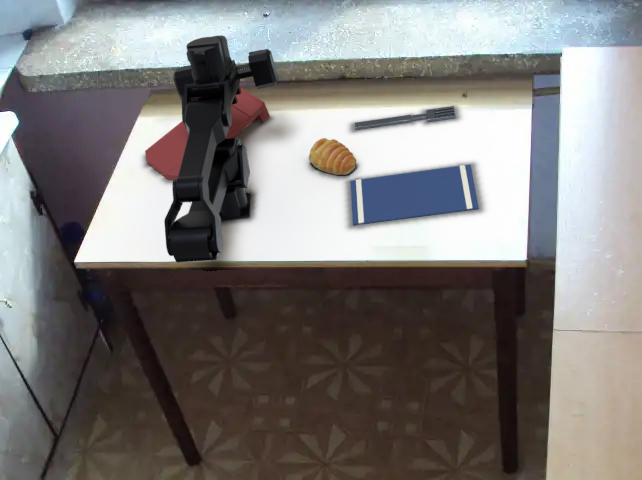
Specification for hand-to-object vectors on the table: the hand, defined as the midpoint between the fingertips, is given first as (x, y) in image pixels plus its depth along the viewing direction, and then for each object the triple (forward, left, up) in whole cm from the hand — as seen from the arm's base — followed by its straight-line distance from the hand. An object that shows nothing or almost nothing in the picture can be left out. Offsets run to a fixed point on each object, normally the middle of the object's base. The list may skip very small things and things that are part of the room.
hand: (233, 59), depth 180 cm
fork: (-5, -31, -15) cm, 35 cm away
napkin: (-28, -31, -15) cm, 44 cm away
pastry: (-15, -17, -16) cm, 28 cm away
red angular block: (-3, +8, -16) cm, 18 cm away
